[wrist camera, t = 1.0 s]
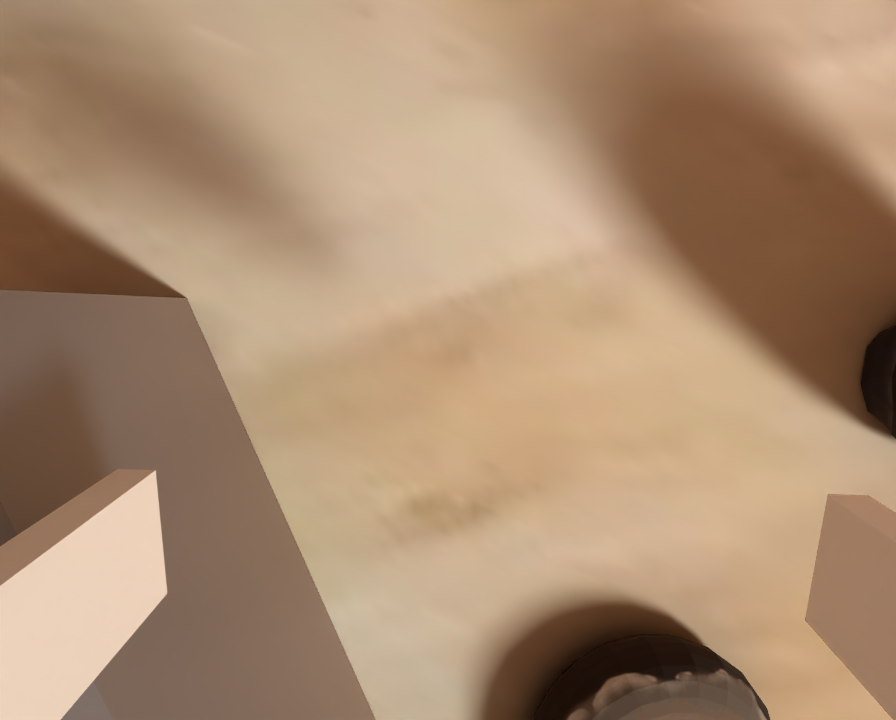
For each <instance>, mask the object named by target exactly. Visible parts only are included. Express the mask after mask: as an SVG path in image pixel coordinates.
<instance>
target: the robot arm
mask: <svg viewBox="0 0 896 720" xmlns="http://www.w3.org/2000/svg"><path fill="white" fill-rule="evenodd" d="M166 594H167V584H166V574H165V563H164V553H163V542H162V532H161V522H160V511H159V501H158V490H157V480H156V470H134V469H117V470H115V471H114V472H112V473H111V474H109V475H108V476H106V477H105V478H103V479H102V480H100V481H99V482H97V483H96V484H94V485H93V486H91V487H90V488H88V489H87V490H85V491H83V492H82V493H80V494H79V495H77V496H76V497H74V498H73V499H71V500H70V501H68V502H67V503H65V504H64V505H62V506H61V507H59V508H58V509H56V510H55V511H53V512H52V513H50V514H49V515H47V516H46V517H44V518H43V519H41V520H39V521H38V522H36V523H35V524H33V525H32V526H30V527H29V528H27V529H26V530H24V531H23V532H21V533H20V534H18V535H17V536H15V537H14V538H12V539H11V540H9V541H8V542H6V543H5V544H3V545H2V546H0V720H61V719H62V717H63V716H64V715H65V714H66V713H67V711H68V710H69V709H70V708H71V707H72V706H73V704H74V703H75V702H76V701H77V700H78V698H79V697H80V696H81V695H82V694H83V693H84V691H85V690H86V689H87V688H88V687H89V685H90V684H91V683H92V682H93V681H94V680H95V678H96V677H97V676H98V675H99V674H100V672H101V671H102V670H103V669H104V668H105V666H106V665H107V664H108V663H109V662H110V661H111V659H112V658H113V657H114V656H115V655H116V653H117V652H118V651H119V650H120V649H121V648H122V646H123V645H124V644H125V643H126V642H127V640H128V639H129V638H130V637H131V636H132V635H133V633H134V632H135V631H136V630H137V629H138V627H139V626H140V625H141V624H142V623H143V622H144V620H145V619H146V618H147V617H148V616H149V614H150V613H151V612H152V611H153V610H154V609H155V607H156V606H157V605H158V604H159V603H160V601H161V600H162V599H163V598H164V597H165V596H166ZM805 621H806V622H807V623H808V624H809V625H810V626H811V627H812V628H813V630H814V631H815V632H816V633H817V634H818V635H819V636H820V638H821V639H822V640H823V641H824V642H825V643H826V644H827V645H828V647H829V648H830V649H831V650H832V651H833V652H834V653H835V654H836V656H837V657H838V658H839V659H840V660H841V661H842V662H843V663H844V665H845V666H846V667H847V668H848V669H849V670H850V671H851V672H852V674H853V675H854V676H855V677H856V678H857V679H858V680H859V682H860V683H861V684H862V685H863V686H864V687H865V688H866V689H867V691H868V692H869V693H870V694H871V695H872V696H873V697H874V698H875V700H876V701H877V702H878V703H879V704H880V705H881V706H882V707H883V709H884V710H885V711H886V712H887V713H888V714H889V715H890V716H891V718H892V719H893V720H896V513H895V512H893V511H892V510H890V509H889V508H887V507H886V506H884V505H882V504H881V503H879V502H878V501H876V500H875V499H873V498H871V497H870V496H865V495H837V494H828V496H827V502H826V507H825V513H824V518H823V524H822V529H821V535H820V540H819V546H818V551H817V557H816V562H815V568H814V573H813V579H812V584H811V590H810V595H809V601H808V606H807V612H806V617H805Z"/></svg>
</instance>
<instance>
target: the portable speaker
mask: <svg viewBox="0 0 896 720" xmlns="http://www.w3.org/2000/svg"><path fill="white" fill-rule="evenodd" d="M861 385H862V389H863V393H864V397H865V401H866V405H867V409H868V412H870V413H871V414H872V415H874V416H875V417H876V418H877V419H879V420H880V421H881V422H882V423H884V424H885V425H886V426H887V427H888V428H889V429H890V430H891V431H892V435H893V436H894V437H895V438H896V326H894V327H891V328H889V329H887V330H885V331H883V332H880V334H879V335H878V336H877V337H876V338H875V339H874V340H873V341H872V342H871V344H870V345H869V346H868V347H867V351H866V357H865V363H864V369H863V375H862V382H861Z"/></svg>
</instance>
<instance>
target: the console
mask: <svg viewBox="0 0 896 720" xmlns="http://www.w3.org/2000/svg"><path fill="white" fill-rule="evenodd" d="M117 469H134V470H156V480H157V490H158V501H159V511H160V522H161V532H162V542H163V553H164V563H165V574H166V584H167V594H166V596H165V597H164V598H163V599H162V600H161V601H160V603H159V604H158V605H157V606H156V607H155V609H154V610H153V611H152V612H151V613H150V614H149V616H148V617H147V618H146V619H145V620H144V622H143V623H142V624H141V625H140V626H139V627H138V629H137V630H136V631H135V632H134V633H133V635H132V636H131V637H130V638H129V639H128V640H127V642H126V643H125V644H124V645H123V646H122V648H121V649H120V650H119V651H118V652H117V653H116V655H115V656H114V657H113V658H112V659H111V661H110V662H109V663H108V664H107V665H106V666H105V668H104V669H103V670H102V671H101V672H100V674H99V675H98V676H97V677H96V678H95V680H94V681H93V682H92V683H91V684H90V685H89V687H88V688H87V689H86V690H85V691H84V693H83V694H82V695H81V696H80V697H79V698H78V700H77V701H76V702H75V703H74V704H73V706H72V707H71V708H70V709H69V710H68V711H67V713H66V714H65V715H64V716H63V717H62V719H61V720H375V718H374V715H373V713H372V711H371V709H370V706H369V704H368V702H367V700H366V697H365V695H364V693H363V691H362V688H361V686H360V684H359V682H358V680H357V677H356V675H355V673H354V671H353V668H352V666H351V664H350V662H349V659H348V657H347V655H346V653H345V651H344V648H343V646H342V644H341V642H340V639H339V637H338V635H337V633H336V630H335V628H334V626H333V624H332V622H331V619H330V617H329V615H328V613H327V610H326V608H325V606H324V604H323V601H322V599H321V597H320V595H319V593H318V590H317V588H316V586H315V584H314V581H313V579H312V577H311V575H310V572H309V570H308V568H307V566H306V564H305V561H304V559H303V557H302V555H301V552H300V550H299V548H298V546H297V543H296V541H295V539H294V537H293V534H292V532H291V530H290V528H289V526H288V523H287V521H286V519H285V517H284V514H283V512H282V510H281V508H280V505H279V503H278V501H277V499H276V497H275V494H274V492H273V490H272V488H271V485H270V483H269V481H268V479H267V476H266V474H265V472H264V470H263V468H262V465H261V463H260V461H259V459H258V456H257V454H256V452H255V450H254V447H253V445H252V443H251V441H250V439H249V436H248V434H247V432H246V430H245V427H244V425H243V423H242V421H241V418H240V416H239V414H238V412H237V409H236V407H235V405H234V403H233V401H232V398H231V396H230V394H229V392H228V389H227V387H226V385H225V383H224V380H223V378H222V376H221V374H220V372H219V369H218V367H217V365H216V363H215V360H214V358H213V356H212V354H211V351H210V349H209V347H208V345H207V343H206V340H205V338H204V336H203V334H202V331H201V329H200V327H199V325H198V322H197V320H196V318H195V316H194V314H193V311H192V309H191V307H190V305H189V302H188V300H187V298H173V297H151V296H129V295H106V294H84V293H62V292H40V291H18V290H0V546H2V545H3V544H5V543H6V542H8V541H9V540H11V539H12V538H14V537H15V536H17V535H18V534H20V533H21V532H23V531H24V530H26V529H27V528H29V527H30V526H32V525H33V524H35V523H36V522H38V521H39V520H41V519H43V518H44V517H46V516H47V515H49V514H50V513H52V512H53V511H55V510H56V509H58V508H59V507H61V506H62V505H64V504H65V503H67V502H68V501H70V500H71V499H73V498H74V497H76V496H77V495H79V494H80V493H82V492H83V491H85V490H87V489H88V488H90V487H91V486H93V485H94V484H96V483H97V482H99V481H100V480H102V479H103V478H105V477H106V476H108V475H109V474H111V473H112V472H114V471H115V470H117Z"/></svg>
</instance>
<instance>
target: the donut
mask: <svg viewBox="0 0 896 720" xmlns="http://www.w3.org/2000/svg"><path fill="white" fill-rule="evenodd" d="M534 720H770V717H769V714H768V710H767V708H766V706H765V705H764V703H763V702H762V701H761V699H760V698H759V696H758V695H757V693H756V692H755V691H754V689H753V688H752V686H751V685H750V684H749V682H748V681H747V679H746V678H745V676H744V675H743V674H742V672H741V671H739V670H738V669H736V668H735V667H734V666H732V665H731V664H730V663H728V662H727V661H726V660H724V659H723V658H721V657H720V656H719V655H717V654H716V653H715V652H713V651H712V650H710V649H709V648H708V647H706V646H702V645H699V644H696V643H693V642H690V641H687V640H684V639H681V638H678V637H674V636H669V635H635V636H632V637H628V638H624V639H620V640H617V641H613V642H609V643H606V644H604V645H602V646H600V647H599V648H597V649H595V650H594V651H592V652H590V653H588V654H587V655H585V656H583V657H581V658H580V659H578V660H576V661H575V662H574V663H573V664H572V665H571V666H570V667H569V668H568V669H567V670H566V671H565V672H564V673H563V674H562V675H561V676H560V677H559V678H558V679H557V680H556V681H555V682H554V683H553V684H552V686H551V688H550V689H549V691H548V693H547V694H546V696H545V698H544V700H543V701H542V703H541V705H540V707H539V708H538V710H537V712H536V714H535V717H534Z"/></svg>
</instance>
